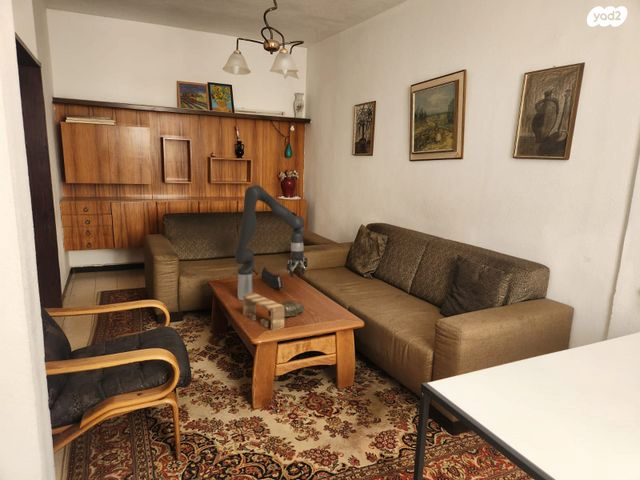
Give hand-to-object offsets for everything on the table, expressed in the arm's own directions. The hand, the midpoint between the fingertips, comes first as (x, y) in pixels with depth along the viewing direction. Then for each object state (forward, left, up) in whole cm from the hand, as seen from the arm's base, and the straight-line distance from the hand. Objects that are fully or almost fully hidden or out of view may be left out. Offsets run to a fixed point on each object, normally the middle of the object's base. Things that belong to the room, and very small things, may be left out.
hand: (297, 275), depth 248 cm
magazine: (-47, +15, -21) cm, 54 cm away
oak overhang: (+3, -28, -21) cm, 35 cm away
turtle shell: (+3, -11, -21) cm, 24 cm away
